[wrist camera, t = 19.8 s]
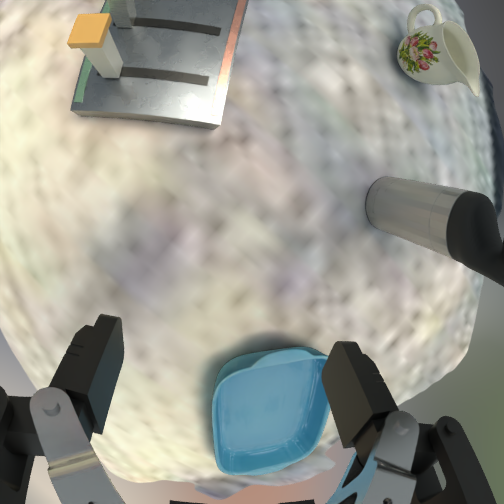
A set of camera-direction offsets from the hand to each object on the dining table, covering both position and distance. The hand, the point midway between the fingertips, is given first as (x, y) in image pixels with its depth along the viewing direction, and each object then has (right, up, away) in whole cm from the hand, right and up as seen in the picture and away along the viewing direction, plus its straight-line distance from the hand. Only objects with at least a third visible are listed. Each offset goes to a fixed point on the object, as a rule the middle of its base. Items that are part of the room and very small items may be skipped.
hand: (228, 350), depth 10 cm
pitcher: (+29, +39, +29) cm, 57 cm away
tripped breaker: (-15, +24, +15) cm, 32 cm away
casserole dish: (+3, -26, +42) cm, 50 cm away
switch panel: (-11, +31, +20) cm, 38 cm away
